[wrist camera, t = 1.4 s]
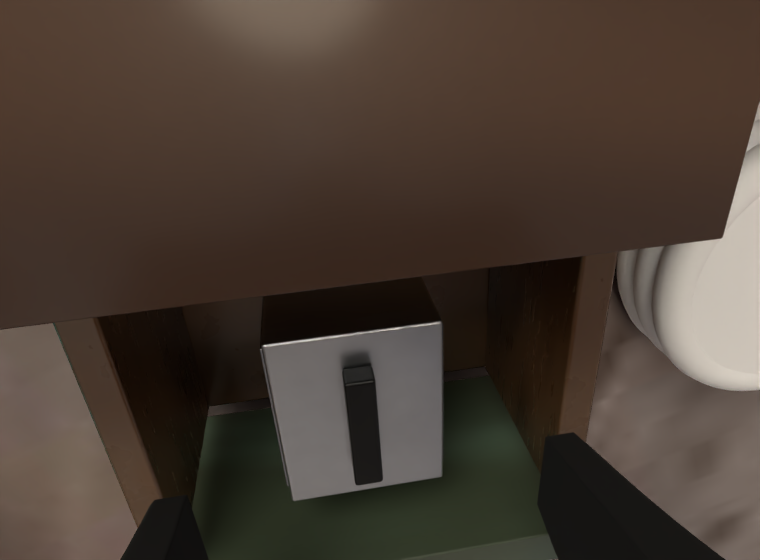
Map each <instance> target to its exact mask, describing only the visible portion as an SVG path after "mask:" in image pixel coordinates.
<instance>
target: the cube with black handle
mask: <svg viewBox="0 0 760 560" xmlns="http://www.w3.org/2000/svg"><path fill="white" fill-rule="evenodd" d="M260 354H261V359H262V364H263V369H264V374H265V379H266V384H267V389H268V394H269V399H270V404H271V409H272V413H273V418H274V423H275V428H276V433H277V438H278V443H279V448H280V453H281V458H282V463H283V468H284V473H285V478H286V483H287V486H289V489H290V494H291V499H292V500H293V501H301V500H307V499H313V498H319V497H325V496H331V495H337V494H343V493H349V492H355V491H361V490H367V489H373V488H379V487H385V486H391V485H397V484H403V483H409V482H416V481H422V480H428V479H434V478H440V477H442V475H443V323H442V320H441V318H440V316H439V313H438V311H437V309H436V307H435V305H434V303H433V300H432V298H431V296H430V294H429V292H428V289H427V287H426V285H425V283H424V281H423V279H422V276H421V277H413V278H405V279H397V280H389V281H382V282H374V283H366V284H358V285H350V286H342V287H334V288H326V289H318V290H310V291H302V292H294V293H286V294H278V295H270V296H263V299H262V316H261V334H260Z"/></svg>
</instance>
